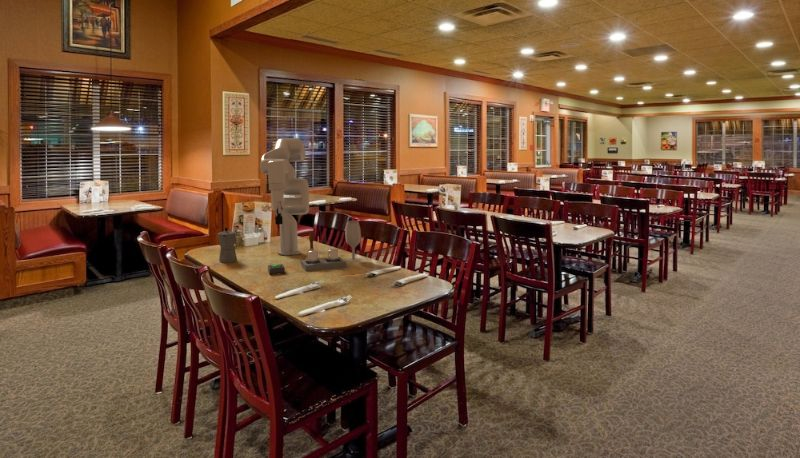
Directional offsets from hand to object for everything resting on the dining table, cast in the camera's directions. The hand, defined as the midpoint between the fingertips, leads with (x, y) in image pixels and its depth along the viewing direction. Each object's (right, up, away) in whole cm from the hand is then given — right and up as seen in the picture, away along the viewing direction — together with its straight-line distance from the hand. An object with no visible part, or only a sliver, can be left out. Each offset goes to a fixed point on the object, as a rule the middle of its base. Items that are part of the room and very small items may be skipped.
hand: (279, 224), depth 244 cm
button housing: (-1, -23, -1) cm, 23 cm away
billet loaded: (+25, -21, +9) cm, 34 cm away
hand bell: (+12, -19, +23) cm, 32 cm away
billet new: (+16, -21, +5) cm, 27 cm away
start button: (-1, -22, -2) cm, 22 cm away
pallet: (+20, -22, +7) cm, 31 cm away
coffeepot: (-33, -19, +25) cm, 45 cm away
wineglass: (+34, -20, +21) cm, 45 cm away
